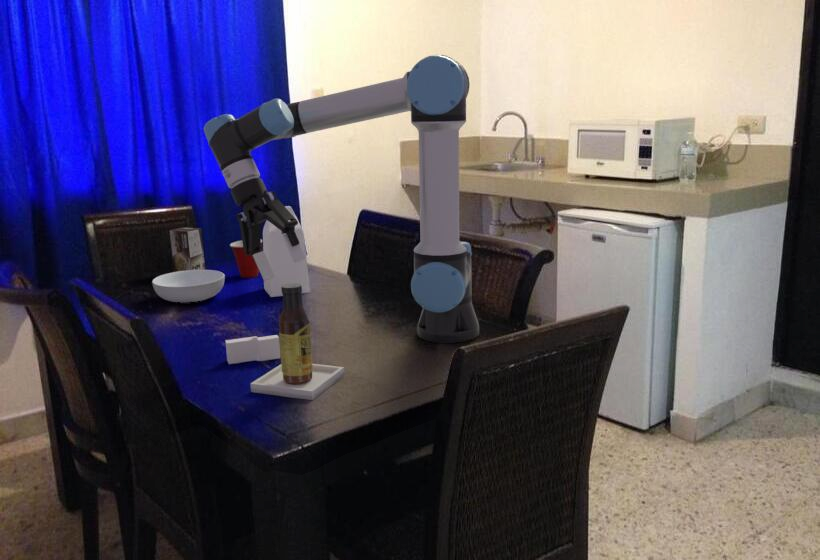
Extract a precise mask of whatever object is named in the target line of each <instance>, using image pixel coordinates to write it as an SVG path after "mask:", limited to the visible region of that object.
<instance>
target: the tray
mask: <svg viewBox="0 0 820 560" xmlns="http://www.w3.org/2000/svg"><path fill="white" fill-rule="evenodd" d="M312 366H313V371H312V379H311V380H309V381H307V382H304V383H300V384H289V383H286V382H285V381H284V380H283V373H282V365H281V363H280V364H279V365H278V366H276V367H274V368H272V369H271V370H269V371H267V372H266V373H265V374H263V375H262V376H260V377H258V378H256V379H255V380H254V381H251V382H250V393H255V394H256V393H257V394H264V395H271V396H272V395H273V396H277V397H286V398H291V399H292V398H294V399H301V400H307V401H308V400H309V401H314V400H315V399H316V398H317V397H319V396H321V395H322V394H323V393H324V392H325V391H326V390H328V389H330V387H332V386H333V385H334V384H335V383H336V382H339V381H340V379H342V378H344V376H346V375H345V373H346V372H345V367H344V366H338V365H337V366H336V365H328V364H319V363H312Z"/></svg>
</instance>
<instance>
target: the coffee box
mask: <svg viewBox="0 0 820 560" xmlns="http://www.w3.org/2000/svg"><path fill="white" fill-rule="evenodd" d="M202 233H203V231H202V228H199V227H196V228H195V227H178V228H174V229H169V237H170V247H171V254H172V255H171V256H172V263H173V272H178V271H187V270H206V265H205V264H206V263H205V255H204V245H203V235H202Z"/></svg>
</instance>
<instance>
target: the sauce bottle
mask: <svg viewBox="0 0 820 560" xmlns="http://www.w3.org/2000/svg"><path fill="white" fill-rule="evenodd" d="M281 289H282V294H283V296H282V301H283V304H282V306H283V310H282V311H281V313H280V314H279V317H278V326H279V331H278V334H279V335H278V337H279V343H280V356H281V358H280V362H281V363H280V364H281V365H282V373H283V380H284V381H285V382H286V383H289V384H300V383H304V382H307V381H309V380H311V379H312V371H313V366H312V364H313V354H312V353H313V351H312V339H311V325H310V324H311V323H310V320H309V318H308V315H307V314H306V311H305V309H304V306H303V300H302V299H303V298H302V293H301V292H302V286H301V285H300V284H287V285H283V286H282V287H281Z"/></svg>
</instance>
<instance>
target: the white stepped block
mask: <svg viewBox="0 0 820 560" xmlns="http://www.w3.org/2000/svg"><path fill="white" fill-rule="evenodd" d="M224 341H225V348H226V349H225V350H226V361H227V363H228V365H231V364H240V363H245V362H252V361H257V362H263V361H264V362H265V361H270V360H277V359H281V351H280V337H279V335H278V334H274V335H273V334H272V335H266V336H260V337H258V336H257V335H256V336H249V337H241V338H240V337H239V338H234V339H225V340H224Z"/></svg>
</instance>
